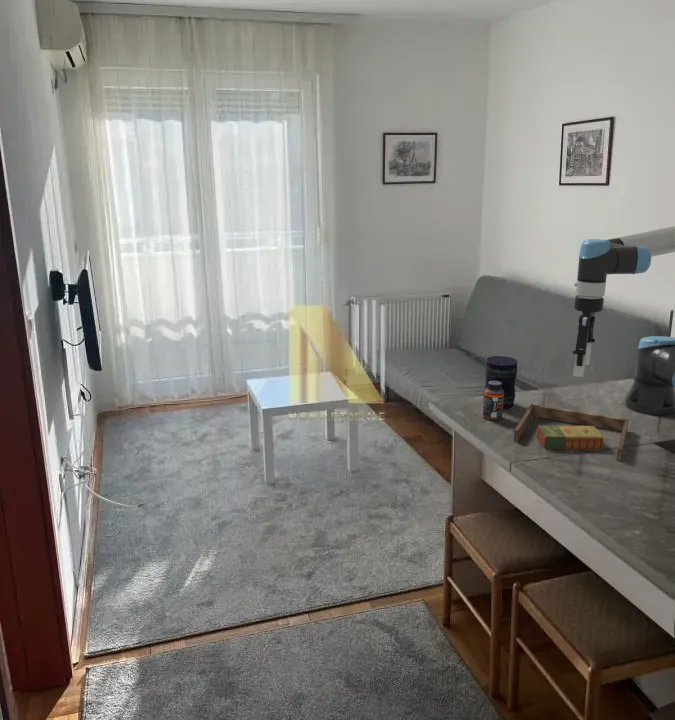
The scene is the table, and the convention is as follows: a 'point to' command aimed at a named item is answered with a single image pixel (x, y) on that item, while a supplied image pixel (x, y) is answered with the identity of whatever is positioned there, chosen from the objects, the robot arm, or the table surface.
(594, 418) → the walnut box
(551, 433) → the carton
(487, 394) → the supplement bottle
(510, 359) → the storage jar
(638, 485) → the table surface
